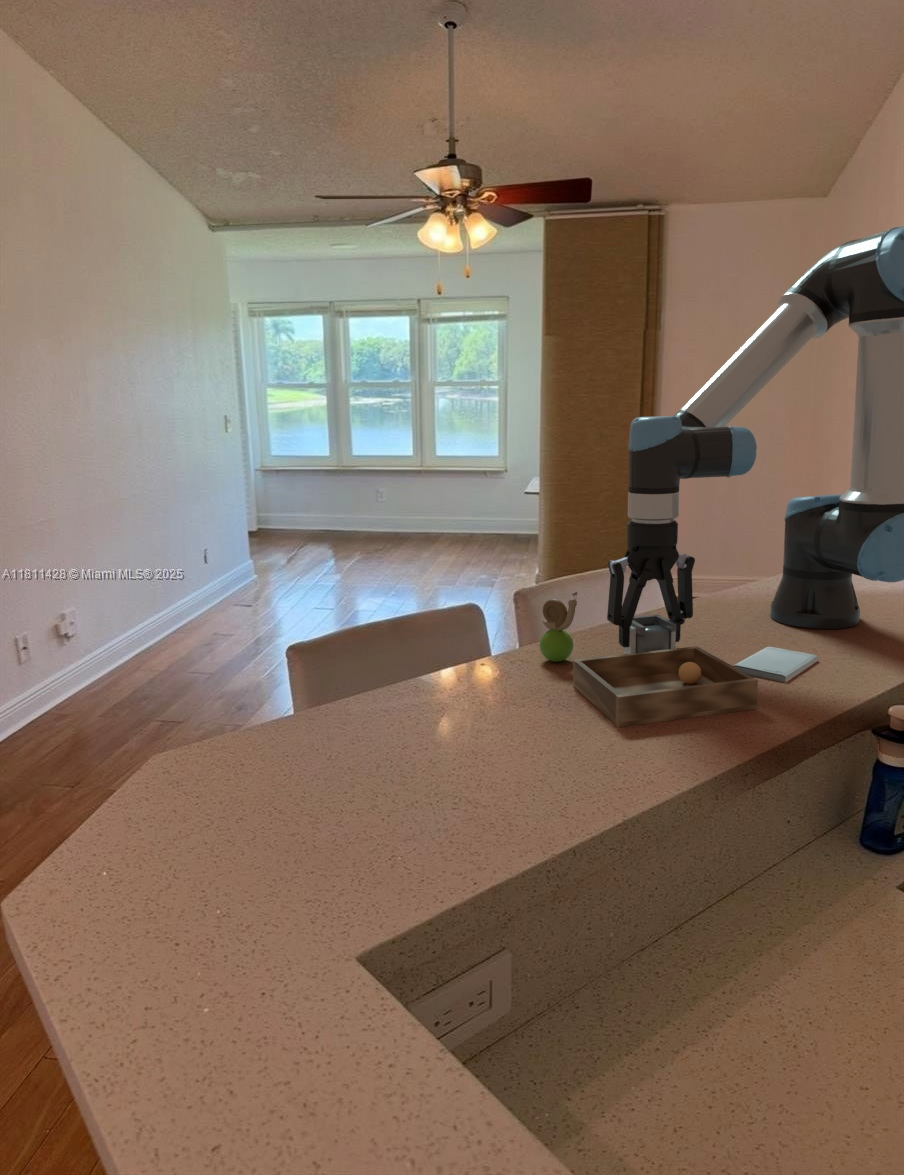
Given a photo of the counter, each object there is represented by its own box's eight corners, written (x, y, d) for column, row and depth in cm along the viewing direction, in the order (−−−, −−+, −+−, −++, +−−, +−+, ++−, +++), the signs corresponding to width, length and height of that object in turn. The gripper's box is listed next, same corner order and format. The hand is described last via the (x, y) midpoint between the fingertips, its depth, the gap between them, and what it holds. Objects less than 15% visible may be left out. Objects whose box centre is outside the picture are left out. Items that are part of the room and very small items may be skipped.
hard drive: (786, 675, 116) (818, 654, 125) (732, 664, 121) (766, 644, 130) (785, 686, 116) (817, 664, 125) (731, 674, 122) (765, 654, 130)
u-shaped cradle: (657, 656, 130) (658, 614, 128) (675, 668, 124) (676, 623, 122) (623, 660, 129) (623, 617, 127) (639, 672, 123) (640, 627, 121)
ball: (707, 671, 113) (703, 685, 115) (696, 655, 116) (692, 669, 118) (686, 676, 113) (683, 690, 115) (676, 660, 115) (673, 674, 117)
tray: (695, 671, 122) (696, 646, 121) (756, 708, 107) (757, 680, 106) (573, 686, 118) (573, 659, 117) (618, 726, 103) (618, 697, 102)
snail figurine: (568, 669, 125) (568, 595, 123) (533, 662, 129) (532, 591, 126) (584, 660, 130) (584, 588, 127) (550, 654, 133) (549, 584, 131)
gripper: (697, 512, 127) (691, 651, 132) (584, 520, 123) (583, 662, 128) (722, 519, 119) (715, 664, 125) (604, 527, 115) (602, 677, 121)
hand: (648, 663), depth 126 cm, fingers closed on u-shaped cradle, 6 cm apart
